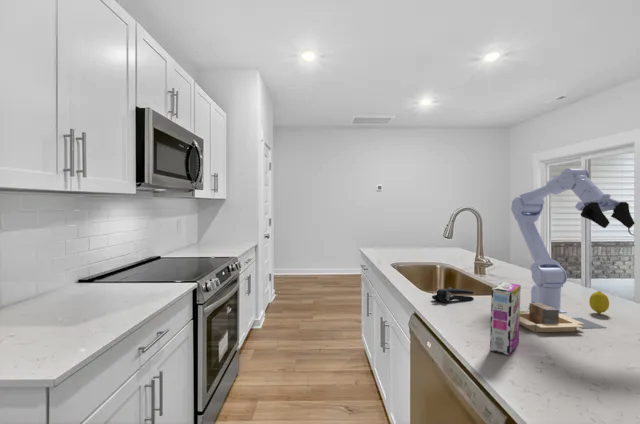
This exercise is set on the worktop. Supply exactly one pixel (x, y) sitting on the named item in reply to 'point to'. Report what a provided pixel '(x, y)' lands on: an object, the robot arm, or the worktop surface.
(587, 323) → the rubber mat
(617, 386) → the worktop surface
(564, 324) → the carton
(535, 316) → the walnut box
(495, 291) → the candy bar box
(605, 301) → the lemon
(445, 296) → the can opener
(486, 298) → the worktop surface
